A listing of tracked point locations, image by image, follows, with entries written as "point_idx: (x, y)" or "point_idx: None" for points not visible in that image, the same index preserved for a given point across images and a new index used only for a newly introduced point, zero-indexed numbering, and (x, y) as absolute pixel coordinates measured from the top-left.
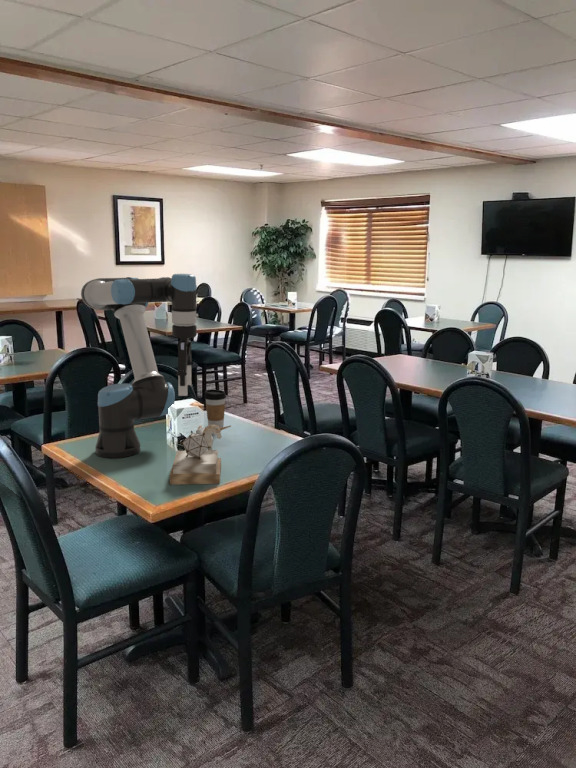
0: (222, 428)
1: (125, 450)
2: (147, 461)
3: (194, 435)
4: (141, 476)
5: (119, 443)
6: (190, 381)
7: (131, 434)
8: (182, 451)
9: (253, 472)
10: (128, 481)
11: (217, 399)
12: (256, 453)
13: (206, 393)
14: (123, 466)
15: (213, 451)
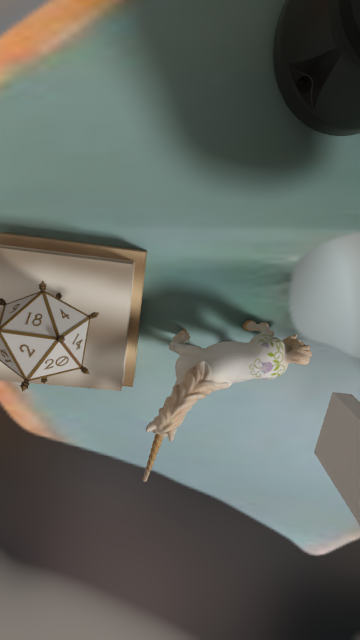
0: (153, 445)
1: (286, 71)
2: (219, 163)
3: (19, 347)
4: (81, 143)
5: (304, 30)
6: (330, 469)
7: (347, 75)
8: (123, 282)
9: (81, 444)
10: (40, 99)
11: None
12: (222, 464)
13: None
14: (185, 76)
15: (109, 378)
